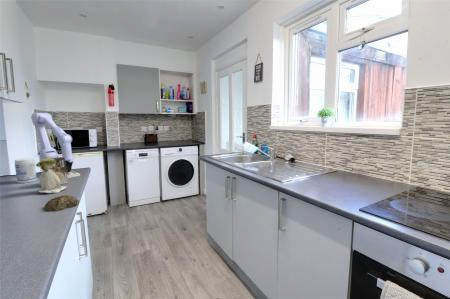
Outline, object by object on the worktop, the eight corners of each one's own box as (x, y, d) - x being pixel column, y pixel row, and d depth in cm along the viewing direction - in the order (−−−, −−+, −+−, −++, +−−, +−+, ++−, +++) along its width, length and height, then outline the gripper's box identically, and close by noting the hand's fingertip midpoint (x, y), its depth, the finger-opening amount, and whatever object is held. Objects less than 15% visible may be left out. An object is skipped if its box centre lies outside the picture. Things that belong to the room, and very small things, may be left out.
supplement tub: (13, 184, 140) (10, 161, 138) (22, 180, 149) (19, 158, 147) (32, 182, 143) (29, 159, 140) (39, 178, 152) (36, 157, 149)
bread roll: (73, 199, 113) (71, 189, 112) (82, 205, 105) (81, 195, 105) (40, 207, 103) (39, 197, 103) (48, 214, 96) (46, 203, 95)
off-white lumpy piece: (47, 195, 118) (42, 161, 115) (32, 193, 123) (27, 159, 120) (70, 189, 129) (66, 157, 126) (55, 186, 134) (51, 156, 131)
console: (50, 176, 158) (49, 171, 157) (71, 172, 168) (71, 167, 167) (57, 179, 148) (57, 174, 147) (80, 175, 158) (79, 170, 158)
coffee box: (64, 181, 144) (61, 156, 142) (68, 183, 141) (65, 157, 138) (47, 185, 137) (43, 159, 135) (50, 186, 133) (47, 160, 131)
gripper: (77, 152, 158) (79, 171, 160) (69, 150, 167) (71, 168, 169) (65, 153, 152) (67, 173, 154) (58, 151, 161) (60, 170, 163)
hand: (69, 171), depth 161 cm, fingers closed
